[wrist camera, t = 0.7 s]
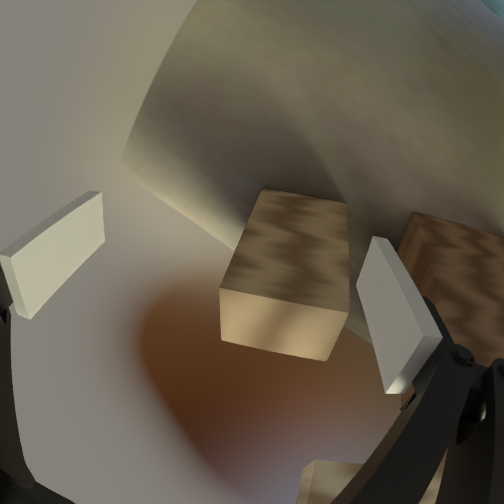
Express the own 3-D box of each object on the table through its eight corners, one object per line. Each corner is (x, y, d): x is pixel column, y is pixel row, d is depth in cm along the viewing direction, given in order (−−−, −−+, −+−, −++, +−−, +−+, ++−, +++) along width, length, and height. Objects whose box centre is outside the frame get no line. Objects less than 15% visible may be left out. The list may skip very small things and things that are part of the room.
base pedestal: (258, 237, 44) (221, 339, 31) (262, 188, 39) (219, 287, 26) (333, 251, 43) (326, 361, 29) (346, 203, 38) (348, 312, 24)
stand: (389, 267, 42) (398, 478, 20) (412, 211, 36) (461, 451, 13) (480, 286, 40) (518, 461, 17) (508, 239, 33) (578, 424, 11)
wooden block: (303, 468, 19) (293, 512, 16) (315, 459, 17) (304, 512, 14) (526, 454, 16) (527, 486, 13) (550, 440, 13) (552, 474, 10)
